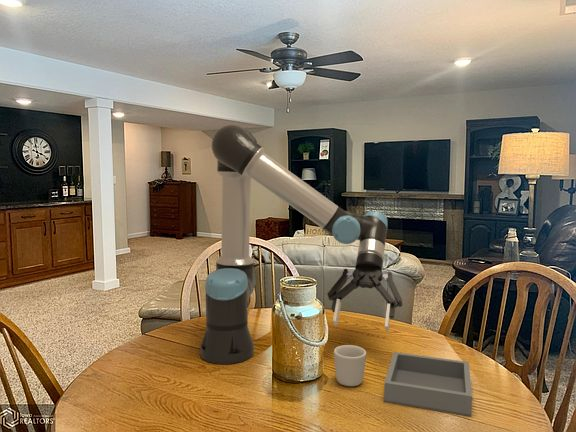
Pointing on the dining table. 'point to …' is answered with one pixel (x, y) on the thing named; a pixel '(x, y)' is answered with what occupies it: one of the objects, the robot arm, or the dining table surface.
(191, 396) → the dining table surface
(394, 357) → the tray
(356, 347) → the cup
